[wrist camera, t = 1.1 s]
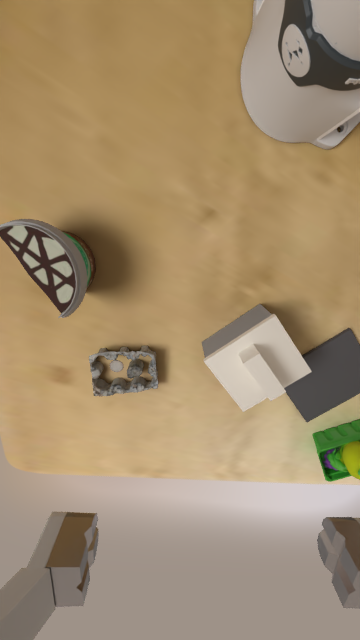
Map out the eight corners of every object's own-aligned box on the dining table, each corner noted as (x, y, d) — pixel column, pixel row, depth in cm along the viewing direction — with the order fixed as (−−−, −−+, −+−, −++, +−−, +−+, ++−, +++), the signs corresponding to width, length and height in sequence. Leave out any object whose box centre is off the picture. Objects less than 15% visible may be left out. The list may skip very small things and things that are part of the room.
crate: (259, 303, 42) (273, 315, 36) (290, 350, 44) (307, 368, 39) (201, 342, 44) (205, 359, 38) (234, 385, 46) (242, 406, 41)
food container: (120, 279, 40) (103, 295, 31) (87, 300, 41) (61, 321, 32) (68, 202, 37) (31, 193, 27) (34, 227, 38) (-14, 227, 28)
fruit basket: (313, 460, 52) (348, 519, 41) (302, 425, 49) (337, 479, 39) (372, 442, 51) (424, 499, 40) (364, 405, 48) (418, 456, 37)
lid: (271, 311, 37) (284, 322, 32) (306, 366, 39) (322, 383, 35) (202, 356, 39) (206, 372, 34) (240, 405, 41) (248, 425, 37)
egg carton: (97, 383, 46) (90, 397, 42) (92, 343, 44) (84, 355, 40) (159, 383, 46) (157, 397, 42) (158, 343, 44) (156, 355, 40)
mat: (348, 328, 43) (350, 329, 43) (377, 380, 46) (380, 382, 46) (272, 373, 46) (274, 375, 45) (305, 420, 49) (306, 422, 48)
